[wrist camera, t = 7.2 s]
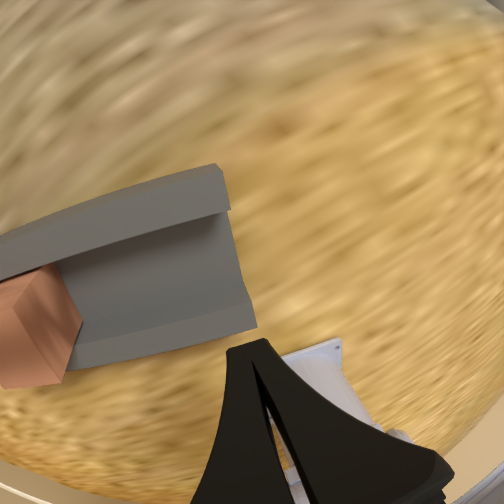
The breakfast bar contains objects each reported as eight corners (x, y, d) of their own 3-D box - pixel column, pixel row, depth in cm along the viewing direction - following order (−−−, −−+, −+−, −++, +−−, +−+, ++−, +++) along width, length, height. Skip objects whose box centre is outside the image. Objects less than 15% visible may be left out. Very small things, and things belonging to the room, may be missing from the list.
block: (82, 319, 18) (61, 383, 13) (31, 332, 17) (4, 389, 12) (51, 255, 16) (12, 307, 11) (-1, 274, 15) (-42, 323, 10)
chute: (246, 300, 21) (257, 328, 18) (34, 351, 19) (22, 378, 16) (214, 163, 17) (222, 171, 14) (-22, 245, 15) (-45, 265, 12)
